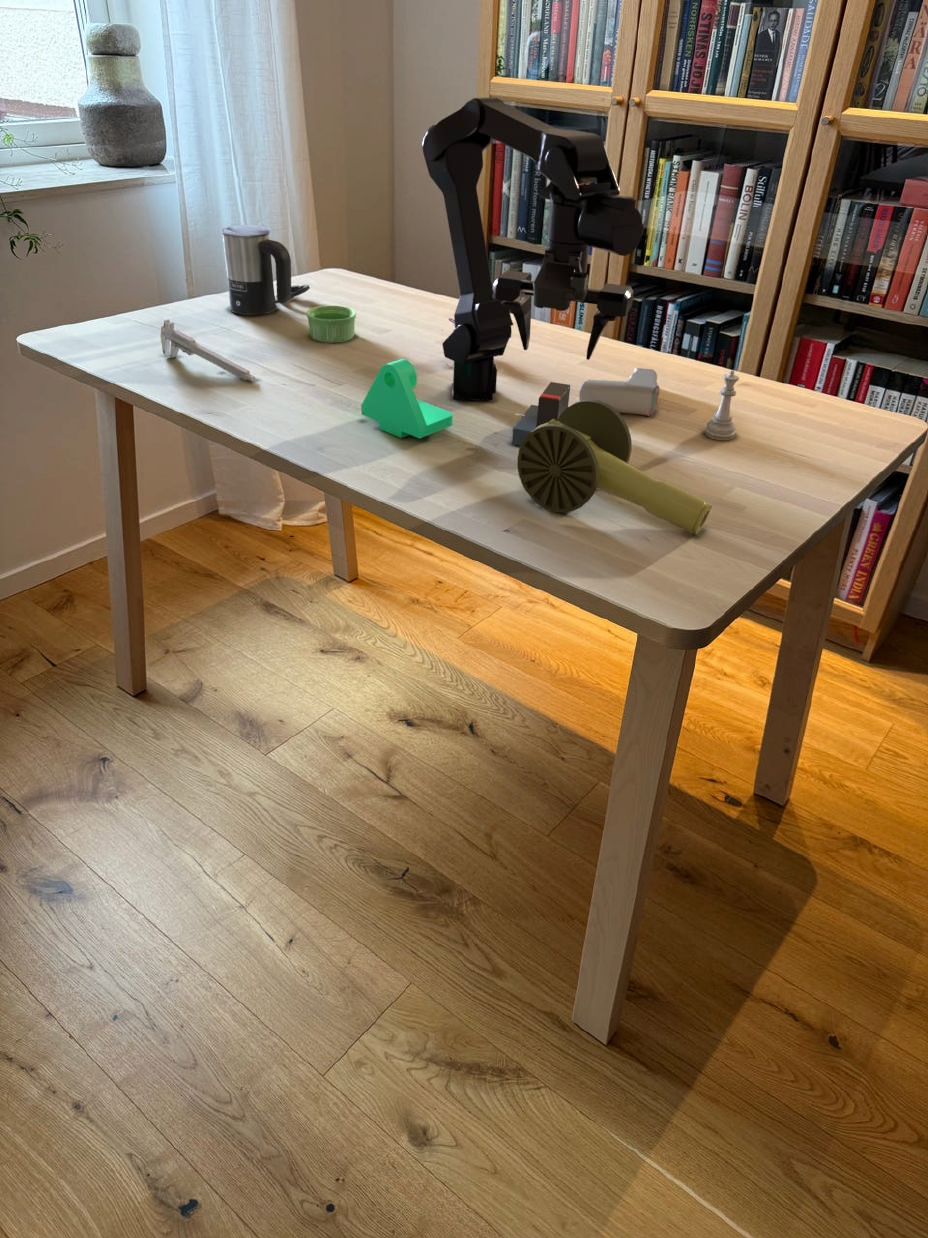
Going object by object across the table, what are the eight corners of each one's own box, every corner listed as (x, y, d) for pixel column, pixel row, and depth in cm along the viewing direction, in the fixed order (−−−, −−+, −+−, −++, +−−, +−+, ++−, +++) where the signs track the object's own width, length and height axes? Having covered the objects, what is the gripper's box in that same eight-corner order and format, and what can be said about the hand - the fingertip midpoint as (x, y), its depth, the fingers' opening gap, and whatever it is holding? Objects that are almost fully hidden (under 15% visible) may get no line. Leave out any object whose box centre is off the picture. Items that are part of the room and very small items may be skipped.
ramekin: (330, 325, 179) (329, 302, 177) (366, 335, 175) (366, 311, 172) (297, 336, 173) (296, 312, 170) (334, 347, 169) (333, 322, 166)
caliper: (162, 355, 162) (157, 319, 158) (167, 354, 162) (162, 317, 159) (251, 382, 153) (248, 344, 149) (256, 380, 154) (252, 342, 150)
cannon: (719, 516, 121) (737, 433, 114) (686, 554, 112) (704, 467, 106) (546, 466, 131) (553, 387, 124) (503, 498, 122) (509, 415, 116)
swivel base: (503, 444, 136) (504, 427, 135) (524, 417, 145) (525, 400, 144) (592, 460, 133) (594, 442, 132) (607, 431, 142) (610, 414, 141)
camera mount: (455, 430, 140) (457, 363, 134) (419, 445, 135) (420, 375, 129) (397, 408, 146) (397, 342, 140) (361, 421, 141) (360, 353, 136)
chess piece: (698, 431, 144) (710, 366, 138) (722, 427, 145) (735, 364, 139) (715, 442, 140) (729, 376, 135) (739, 438, 142) (754, 373, 136)
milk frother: (221, 313, 182) (212, 232, 174) (249, 291, 195) (243, 215, 187) (292, 320, 181) (287, 238, 173) (316, 297, 194) (312, 221, 185)
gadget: (547, 410, 141) (550, 379, 139) (567, 413, 140) (570, 382, 138) (536, 427, 136) (538, 396, 133) (556, 430, 135) (559, 399, 132)
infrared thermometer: (657, 391, 159) (655, 419, 146) (585, 383, 161) (577, 410, 148) (661, 364, 157) (659, 390, 144) (589, 357, 159) (580, 381, 146)
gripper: (483, 243, 122) (477, 361, 131) (626, 261, 117) (609, 382, 126) (508, 226, 131) (500, 338, 139) (641, 242, 126) (625, 357, 135)
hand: (556, 353), depth 135 cm, fingers open, 9 cm apart
